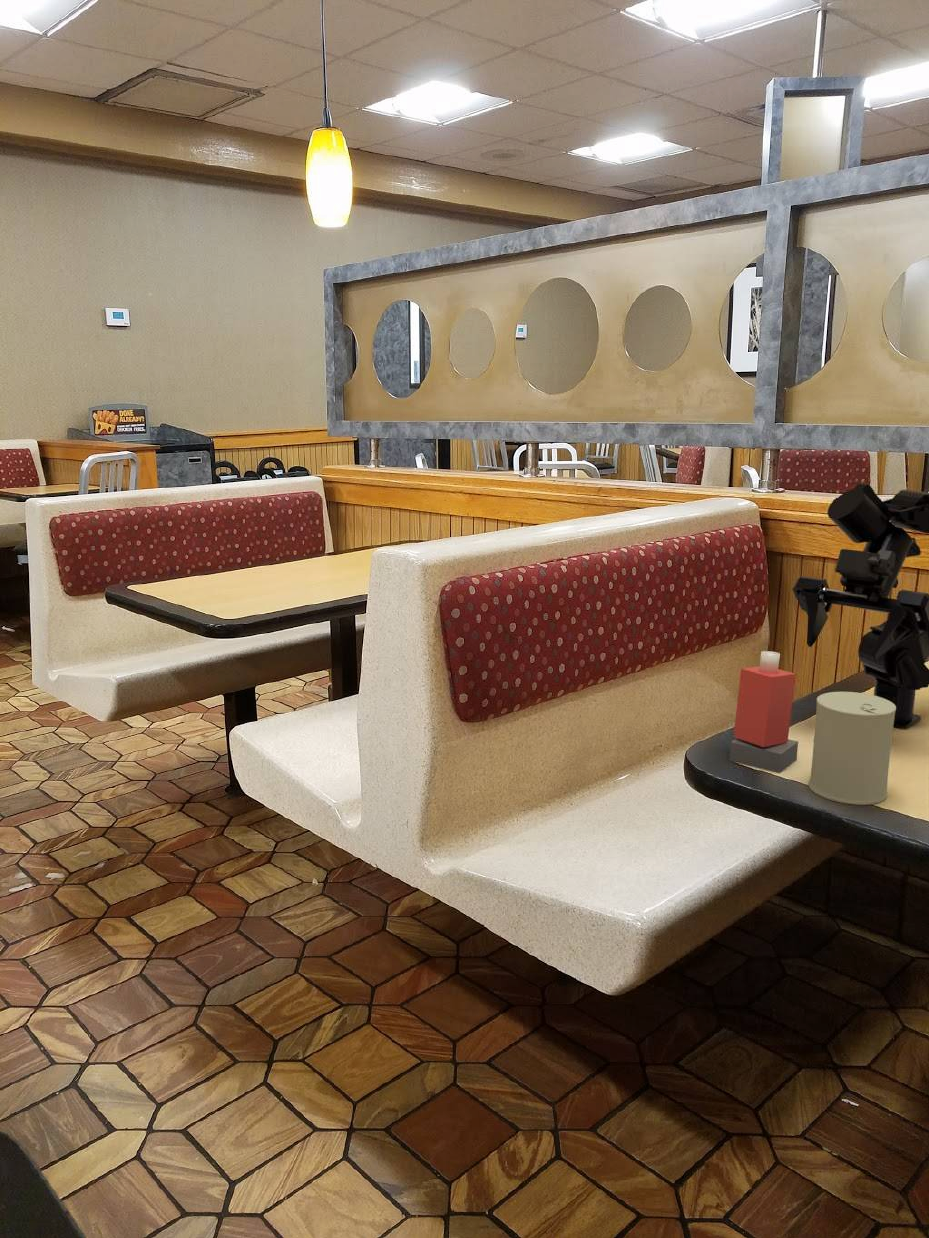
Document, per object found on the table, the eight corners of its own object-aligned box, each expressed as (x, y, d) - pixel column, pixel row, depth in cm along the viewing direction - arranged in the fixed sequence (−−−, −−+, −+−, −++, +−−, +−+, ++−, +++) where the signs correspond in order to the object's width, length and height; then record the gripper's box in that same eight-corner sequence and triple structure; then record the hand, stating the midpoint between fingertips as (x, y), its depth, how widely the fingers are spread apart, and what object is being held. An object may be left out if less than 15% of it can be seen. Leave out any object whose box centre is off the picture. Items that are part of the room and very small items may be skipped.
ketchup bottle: (757, 732, 135) (767, 647, 132) (787, 742, 131) (798, 655, 128) (733, 736, 132) (743, 650, 130) (763, 747, 128) (774, 658, 126)
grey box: (747, 750, 136) (748, 730, 135) (796, 762, 132) (798, 741, 131) (729, 762, 131) (730, 742, 131) (779, 775, 127) (781, 754, 126)
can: (838, 808, 116) (847, 713, 113) (793, 780, 125) (801, 690, 122) (903, 800, 119) (914, 707, 116) (855, 772, 127) (863, 685, 124)
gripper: (803, 521, 141) (761, 607, 136) (938, 534, 128) (897, 629, 123) (822, 567, 148) (783, 651, 143) (952, 584, 135) (914, 676, 130)
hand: (840, 651), depth 134 cm, fingers open, 9 cm apart
